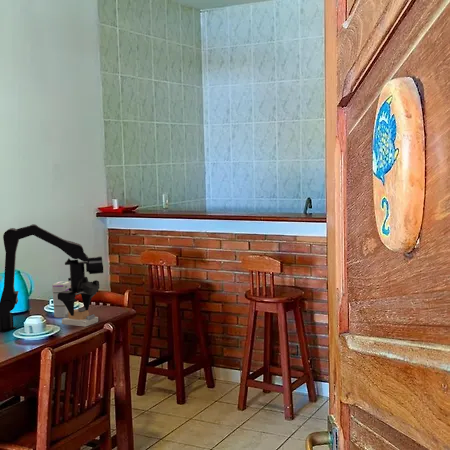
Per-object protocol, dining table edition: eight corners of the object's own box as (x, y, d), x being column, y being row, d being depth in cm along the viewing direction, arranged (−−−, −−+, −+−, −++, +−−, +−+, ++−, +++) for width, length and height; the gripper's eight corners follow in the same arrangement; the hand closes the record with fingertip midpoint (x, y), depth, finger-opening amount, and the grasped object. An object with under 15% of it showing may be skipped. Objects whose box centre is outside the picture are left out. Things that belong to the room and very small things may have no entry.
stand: (85, 326, 246) (85, 317, 246) (62, 324, 252) (61, 315, 251) (98, 321, 253) (97, 313, 253) (75, 319, 259) (74, 311, 259)
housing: (68, 318, 252) (68, 308, 252) (75, 316, 256) (74, 306, 256) (82, 319, 249) (81, 309, 249) (88, 317, 253) (88, 307, 252)
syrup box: (66, 317, 262) (64, 283, 261) (53, 317, 263) (51, 283, 262) (72, 314, 268) (70, 281, 266) (60, 314, 269) (58, 281, 268)
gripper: (77, 280, 239) (80, 320, 240) (108, 272, 255) (110, 309, 257) (55, 278, 244) (57, 317, 245) (86, 270, 260) (88, 307, 262)
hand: (79, 313), depth 252 cm, fingers open, 8 cm apart
